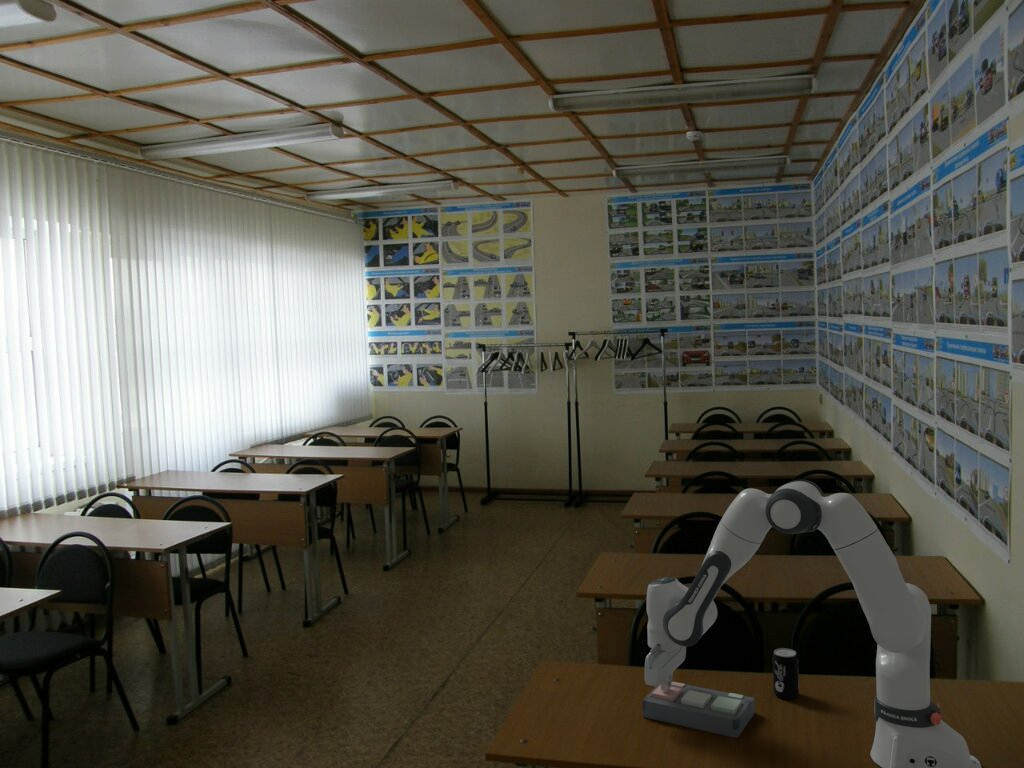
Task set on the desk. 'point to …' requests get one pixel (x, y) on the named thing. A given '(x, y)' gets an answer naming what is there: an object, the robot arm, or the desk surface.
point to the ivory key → (696, 699)
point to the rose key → (667, 694)
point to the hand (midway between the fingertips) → (666, 689)
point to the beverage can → (785, 673)
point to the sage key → (726, 705)
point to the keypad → (700, 712)
